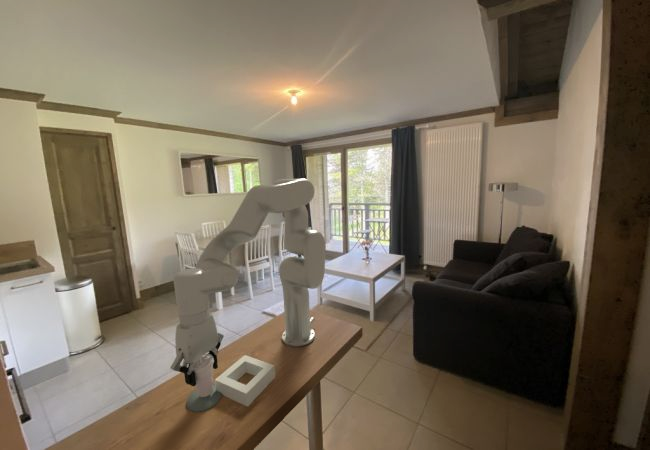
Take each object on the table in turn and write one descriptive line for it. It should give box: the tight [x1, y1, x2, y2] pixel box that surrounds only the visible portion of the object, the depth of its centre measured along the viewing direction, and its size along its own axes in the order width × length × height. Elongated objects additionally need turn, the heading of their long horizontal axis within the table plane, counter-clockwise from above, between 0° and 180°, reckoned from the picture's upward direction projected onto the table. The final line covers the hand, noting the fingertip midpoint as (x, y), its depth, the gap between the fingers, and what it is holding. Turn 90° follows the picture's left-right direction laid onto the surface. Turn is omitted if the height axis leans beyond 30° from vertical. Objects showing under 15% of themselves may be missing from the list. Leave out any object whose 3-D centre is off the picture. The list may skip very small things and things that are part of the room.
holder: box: [214, 354, 276, 408], centre depth 79 cm, size 12×12×4 cm
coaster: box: [186, 383, 223, 413], centre depth 75 cm, size 9×9×1 cm
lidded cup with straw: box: [192, 353, 214, 397], centre depth 74 cm, size 6×6×14 cm
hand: (202, 374), depth 74 cm, fingers closed on lidded cup with straw, 6 cm apart
